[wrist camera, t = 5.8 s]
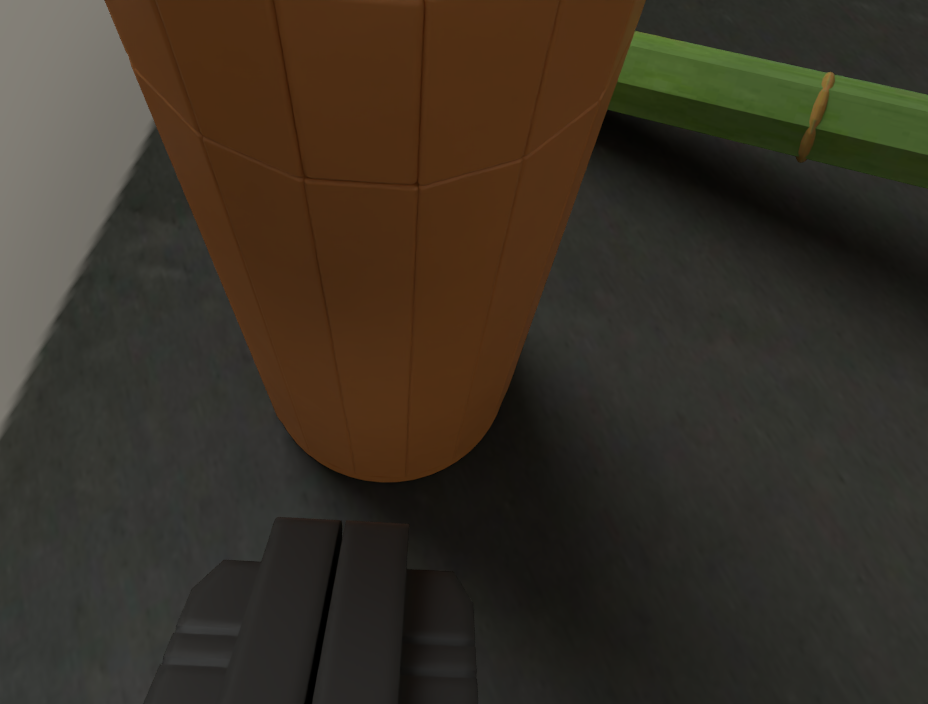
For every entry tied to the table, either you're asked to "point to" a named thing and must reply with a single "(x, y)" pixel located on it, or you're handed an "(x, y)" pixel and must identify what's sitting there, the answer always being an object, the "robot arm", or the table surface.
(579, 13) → the jar
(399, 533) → the robot arm
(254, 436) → the table surface
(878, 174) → the decorative plant
